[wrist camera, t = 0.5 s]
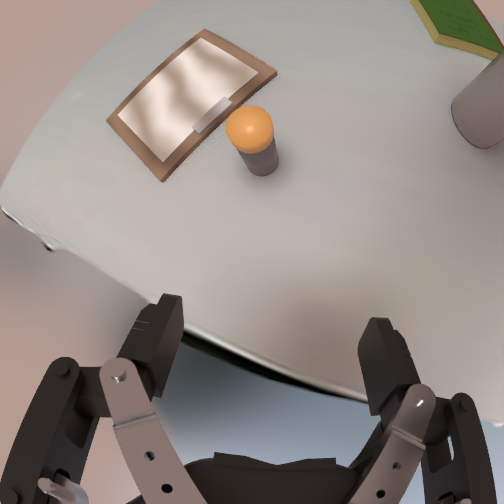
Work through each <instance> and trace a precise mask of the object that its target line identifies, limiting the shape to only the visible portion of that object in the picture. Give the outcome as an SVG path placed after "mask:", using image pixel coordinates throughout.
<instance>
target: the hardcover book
mask: <svg viewBox="0 0 504 504" xmlns="http://www.w3.org/2000/svg"><path fill="white" fill-rule="evenodd" d="M409 1H410V2H411V4H412V5H413V7H414V9H415V10H416V12H417V13H418V15H419V17H420V18H421V20H422V22H423V23H424V25H425V27H426V29H427V30H428V32H429V34H430V36H431V38H432V40H433V41H434V43H438V44H442V45H446V46H450V47H454V48H458V49H461V50H465V51H468V52H471V53H474V54H477V55H480V56H483V57H486V58H489V59H492V60H494V59H495V58H496V56H497V55H498V54H499V53H500V52H501V51H502V50H503V49H504V46H503V44H502V43H501V41H500V39H499V38H498V36H497V34H496V33H495V31H494V30H493V28H492V26H491V25H490V23H489V22H488V20H487V19H486V18H485V16H484V15H483V13H482V12H481V10H480V9H479V8H478V6H477V5H476V4H475V2H474V1H473V0H409Z"/></svg>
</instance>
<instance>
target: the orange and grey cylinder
mask: <svg viewBox="0 0 504 504" xmlns="http://www.w3.org/2000/svg"><path fill="white" fill-rule="evenodd" d="M225 129H226V134H227V136H228V138H229V139H230V141H231V142H232V144H233V145H234V147H235V148H236V149H237V150H238V152H239V153H240V155H241V157H242V158H243V160H244V162H245V163H246V165H247V167H248V168H249V170H250V171H251V172H252V173H253V174H255V175H258V176H266V175H269V174H271V173H272V172H274V171H275V169H276V168H277V166H278V155H277V150H276V145H275V140H274V129H273V124H272V120H271V117H270V115H269V114H268V113H267V112H266V111H265V110H264V109H262V108H260V107H258V106H252V105H249V106H243V107H240V108H238V109H236V110H235V111H234V112H232V113H231V114H230V116H229V117H228V119H227V121H226V126H225Z"/></svg>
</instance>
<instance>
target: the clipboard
mask: <svg viewBox="0 0 504 504" xmlns="http://www.w3.org/2000/svg"><path fill="white" fill-rule="evenodd" d="M276 75H277V71H276V70H275V69H273V68H272V67H270V66H269V65H267V64H266V63H264V62H262V61H261V60H259V59H258V58H256V57H254V56H253V55H251V54H250V53H248V52H246V51H245V50H243V49H241V48H240V47H238V46H236V45H234V44H233V43H231V42H229V41H227V40H225V39H224V38H222V37H220V36H218V35H216V34H214V33H212V32H210V31H208V30H206V29H203V30H202V31H201V32H199V33H198V34H197V35H195V36H194V37H193V38H191V39H190V40H189V41H188V42H186V43H185V44H184V45H183V46H181V47H180V48H179V49H178V50H176V51H175V52H174V53H173V54H172V55H171V56H169V57H168V58H167V59H166V60H165V61H164V62H163V63H161V64H160V65H159V66H158V67H157V68H156V69H155V70H154V71H153V72H152V73H151V74H150V75H148V76H147V77H146V78H145V79H144V80H143V81H142V82H141V83H140V84H139V85H138V86H137V87H136V88H135V89H134V90H133V91H132V92H131V93H130V94H129V95H128V97H127V98H126V99H125V100H124V101H123V102H122V103H121V104H120V105H119V106H118V107H117V108H116V110H115V111H114V112H113V113H112V114H111V115H110V116H109V118H108V119H107V120H106V122H107V123H108V124H109V125H110V126H111V127H112V128H113V129H114V131H115V132H116V133H117V134H118V135H119V136H120V137H121V138H122V139H123V141H124V142H125V143H126V144H127V145H128V146H129V147H130V148H131V149H132V151H133V152H134V153H135V154H136V155H137V156H138V157H139V158H140V159H141V160H142V162H143V163H144V164H145V165H146V166H147V167H148V168H149V169H150V170H151V171H152V173H153V174H154V175H155V176H156V177H157V178H158V179H159V180H160V181H162V182H164V181H165V180H166V179H167V178H168V176H169V175H170V174H171V173H172V172H173V171H174V170H175V169H176V168H177V167H178V166H179V165H180V164H181V163H182V161H183V160H184V159H185V158H186V157H187V156H188V155H189V154H190V153H191V152H192V151H193V150H194V149H195V148H196V147H197V146H198V145H199V144H200V143H201V142H202V141H203V140H204V139H205V138H206V137H207V136H208V135H209V134H210V133H211V132H212V131H213V130H214V129H215V128H217V127H218V126H219V125H220V124H221V123H222V122H223V121H224V120H225V119H226V118H227V117H228V116H229V115H230V114H231V113H232V112H234V111H235V110H236V109H237V108H238V107H239V106H241V105H242V104H243V103H244V102H245V101H246V100H247V99H249V98H250V97H251V96H252V95H253V94H254V93H256V92H257V91H258V90H259V89H260V88H262V87H263V86H264V85H265V84H266V83H268V82H269V81H270V80H271V79H273V78H274V77H275V76H276Z"/></svg>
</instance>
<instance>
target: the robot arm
mask: <svg viewBox="0 0 504 504" xmlns="http://www.w3.org/2000/svg"><path fill="white" fill-rule="evenodd" d="M452 115H453V118H454V121H455V123H456V126H457V127H458V129H459V131H460V132H461V133H462V135H463V136H464V137H465V138H466V139H467V140H468V141H469V142H470V143H471V144H473V145H475V146H476V147H479V148H488V147H490V146H492V145H494V144H496V143H497V142H499V141H501V140H503V139H504V49H503V50H502V51H501V52H500V53H499V54H498V55H497V56H496V58H495V59H494V60H493V61H492V62H491V63H490V64H489V65H488V66H487V67H486V68H485V69H484V70H483V71H482V72H481V73H480V74H479V75H478V76H477V77H476V78H475V79H474V80H473V81H472V82H471V83H470V84H469V85H468V86H467V87H466V88H465V89H464V90H463V91H462V92H461V93H460V94H459V95H458V96H457V97H456V98H455V99H454V100H453V103H452ZM183 329H184V318H183V306H182V297H181V296H177V295H171V294H165V293H164V294H163V295H162V296H161V298H160V300H159V302H158V304H157V305H156V304H151V303H150V304H149V305H147V306H146V307H145V308H144V309H143V310H141V312H140V314H139V316H138V317H137V319H136V321H135V323H134V325H133V327H132V329H131V330H130V333H129V335H128V336H127V338H126V340H125V342H124V344H123V346H122V348H121V350H120V352H119V354H118V355H117V357H116V358H113V359H110V360H108V361H107V362H105V363H104V364H103V366H101V367H79V365H78V363H77V362H76V361H75V360H74V359H72V358H70V357H61V358H58V359H56V360H55V361H53V362H52V363H51V364H50V366H49V368H48V369H47V371H46V373H45V375H44V377H43V380H42V381H41V383H40V385H39V387H38V389H37V391H36V393H35V395H34V397H33V399H32V401H31V403H30V406H29V408H28V410H27V413H26V414H25V417H24V419H23V421H22V423H21V426H20V428H19V431H18V433H17V436H16V438H15V441H14V443H13V446H12V449H11V451H10V454H9V457H8V460H7V462H6V466H5V469H4V472H3V475H2V478H1V482H0V502H1V504H89V500H88V496H87V494H86V492H85V490H84V489H83V488H82V487H81V486H80V481H81V477H82V474H83V470H84V467H85V463H86V460H87V456H88V453H89V450H90V446H91V443H92V440H93V437H94V434H95V430H96V427H97V425H98V422H99V419H100V417H112V419H113V422H114V425H113V429H114V433H115V435H116V438H117V441H118V443H119V446H120V449H121V451H122V453H123V456H124V458H125V461H126V463H127V465H128V467H129V469H130V472H131V474H132V476H133V478H134V480H135V482H136V485H137V487H138V489H139V491H140V493H141V495H140V496H138V497H136V498H135V499H133V500H132V501H130V502H128V503H127V504H399V502H400V500H401V498H402V496H403V495H404V493H405V491H406V489H407V487H408V485H409V483H410V481H411V479H412V477H413V475H414V473H415V471H416V469H417V467H418V465H419V462H420V460H421V467H422V474H423V484H424V494H425V504H497V499H496V491H495V484H494V479H493V473H492V467H491V463H490V458H489V453H488V449H487V445H486V441H485V437H484V433H483V430H482V426H481V423H480V419H479V416H478V413H477V410H476V407H475V404H474V401H473V400H472V398H471V397H470V396H469V395H467V394H465V393H457V394H455V395H454V396H453V397H452V398H451V399H445V398H440V397H435V394H434V392H433V391H432V390H431V389H430V388H429V387H428V386H426V385H424V384H421V382H420V379H419V376H418V373H417V370H416V368H415V365H414V362H413V360H412V357H410V356H411V354H410V352H409V349H408V347H407V344H406V342H405V339H404V338H403V336H402V335H401V334H400V333H399V332H398V331H397V330H393V327H392V325H391V322H390V320H389V319H388V318H376V317H372V318H371V319H370V320H369V322H368V324H367V327H366V329H365V331H364V333H363V335H362V337H361V339H360V341H359V344H358V357H359V361H360V366H361V370H362V374H363V379H364V384H365V388H366V393H367V398H368V403H369V408H370V413H371V416H375V415H380V416H381V420H380V422H379V423H378V424H377V426H376V428H375V430H374V431H373V433H372V435H371V437H370V438H369V440H368V441H367V443H366V445H365V446H364V448H363V449H362V451H361V452H360V454H359V455H358V456H357V458H356V459H355V460H354V461H353V462H352V463H351V464H350V465H349V467H348V468H347V467H344V466H341V465H338V464H336V458H322V459H321V458H319V459H304V460H300V461H295V462H291V463H286V464H281V465H274V464H270V463H267V462H263V461H259V460H256V459H253V458H250V457H247V456H241V455H232V454H225V453H218V452H215V453H214V458H207V459H200V460H197V461H193V462H191V463H188V464H186V465H184V466H183V464H182V463H181V461H180V459H179V457H178V456H177V454H176V452H175V450H174V448H173V447H172V445H171V443H170V441H169V439H168V437H167V435H166V433H165V431H164V429H163V427H162V425H161V424H160V421H159V419H158V417H157V415H156V413H155V412H154V409H153V407H152V405H151V401H152V398H153V396H155V397H159V398H161V397H162V394H163V390H164V388H165V385H166V381H167V379H168V375H169V373H170V370H171V367H172V364H173V361H174V357H175V355H176V352H177V349H178V346H179V343H180V341H181V338H182V334H183ZM449 436H450V437H451V441H452V446H453V450H454V458H453V460H452V459H451V453H450V448H449V443H448V439H447V438H448V437H449Z"/></svg>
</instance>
